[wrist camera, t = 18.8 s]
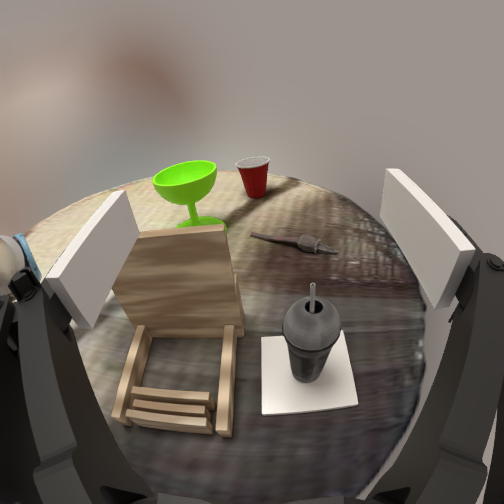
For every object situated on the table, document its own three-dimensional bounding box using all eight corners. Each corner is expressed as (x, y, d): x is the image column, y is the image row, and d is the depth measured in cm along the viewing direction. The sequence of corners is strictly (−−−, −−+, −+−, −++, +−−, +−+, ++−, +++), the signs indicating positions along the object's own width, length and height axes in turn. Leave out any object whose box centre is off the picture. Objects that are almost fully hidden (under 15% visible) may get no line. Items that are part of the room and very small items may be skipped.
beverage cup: (335, 358, 40) (358, 263, 28) (319, 397, 36) (341, 312, 23) (293, 345, 44) (296, 248, 31) (274, 381, 39) (268, 291, 26)
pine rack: (240, 437, 32) (202, 367, 19) (117, 423, 34) (27, 346, 20) (245, 313, 51) (227, 208, 38) (147, 315, 53) (104, 222, 39)
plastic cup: (252, 185, 96) (248, 153, 89) (278, 191, 91) (276, 157, 83) (232, 198, 90) (227, 163, 82) (260, 204, 84) (256, 168, 77)
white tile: (357, 405, 34) (358, 403, 34) (262, 415, 35) (262, 414, 35) (342, 332, 45) (342, 330, 45) (261, 339, 46) (261, 337, 46)
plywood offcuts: (213, 434, 33) (205, 425, 30) (138, 425, 34) (125, 415, 31) (215, 403, 37) (208, 392, 34) (144, 397, 38) (132, 386, 35)
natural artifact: (335, 262, 62) (334, 257, 59) (250, 237, 72) (244, 232, 68) (340, 247, 63) (339, 241, 59) (256, 224, 73) (250, 218, 69)
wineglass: (239, 231, 73) (229, 167, 63) (187, 260, 66) (168, 192, 55) (206, 212, 84) (195, 157, 73) (160, 235, 76) (143, 177, 65)
